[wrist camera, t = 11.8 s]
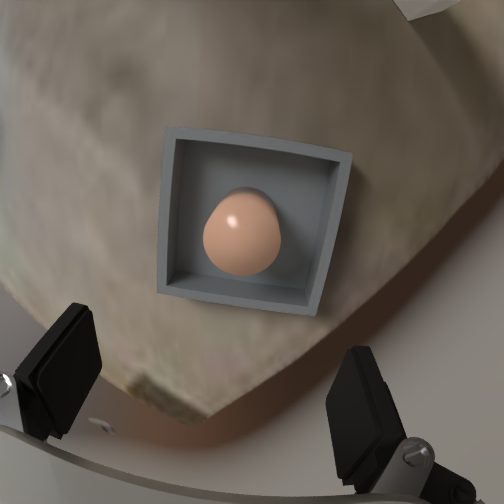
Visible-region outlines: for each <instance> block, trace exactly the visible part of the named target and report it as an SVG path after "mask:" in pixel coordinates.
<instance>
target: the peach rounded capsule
mask: <svg viewBox="0 0 504 504" xmlns="http://www.w3.org/2000/svg"><path fill="white" fill-rule="evenodd" d="M203 244H204V248H205V251H206V253H207V255H208V257H209V259H210V260H211V261H212V262H213V263H214V265H216V266H217V267H218V268H219V269H221V270H223V271H224V272H227V273H229V274H232V275H238V276H248V275H253V274H256V273H259V272H261V271H263V270H264V269H266V268H267V267H268V266H270V265H271V264H272V262H273V261H274V260H275V258H276V257H277V255H278V252H279V249H280V244H281V235H280V229H279V223H278V218H277V212H276V208H275V205H274V203H273V201H272V200H271V199H270V197H269V196H268V195H267V194H266V193H264V192H263V191H261V190H259V189H256V188H252V187H240V188H236V189H234V190H231V191H230V192H228V193H227V194H226V195H225V196H224V197H223V198H222V199H221V201H220V202H219V204H218V205H217V207H216V208H215V210H214V212H213V213H212V215H211V216H210V218H209V220H208V221H207V223H206V225H205V228H204V233H203Z"/></svg>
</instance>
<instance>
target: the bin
mask: <svg viewBox="0 0 504 504" xmlns="http://www.w3.org/2000/svg"><path fill="white" fill-rule="evenodd" d="M352 158H353V153H350V152H345V151H341V150H336V149H332V148H327V147H322V146H317V145H312V144H306V143H301V142H295V141H289V140H283V139H277V138H271V137H264V136H257V135H250V134H242V133H234V132H225V131H216V130H206V129H194V128H181V127H166V132H165V141H164V151H163V161H162V173H161V185H160V200H159V218H158V243H157V293H160V294H165V295H171V296H177V297H182V298H188V299H194V300H200V301H207V302H213V303H219V304H226V305H233V306H239V307H246V308H253V309H261V310H268V311H276V312H284V313H292V314H300V315H309V316H316V313H317V309H318V306H319V302H320V298H321V295H322V291H323V287H324V283H325V280H326V276H327V272H328V268H329V264H330V260H331V256H332V252H333V248H334V244H335V240H336V235H337V231H338V227H339V222H340V218H341V213H342V209H343V204H344V199H345V194H346V189H347V184H348V179H349V174H350V169H351V164H352ZM240 187H252V188H256V189H259V190H261V191H263V192H264V193H266V194H267V195H268V196H269V197H270V199H271V200H272V201H273V203H274V205H275V208H276V212H277V218H278V223H279V229H280V235H281V244H280V249H279V252H278V255H277V257H276V258H275V260H274V261H273V262H272V264H271V265H270V266H268V267H267V268H266V269H264V270H263V271H261V272H259V273H256V274H253V275H248V276H238V275H232V274H229V273H227V272H224V271H223V270H221V269H219V268H218V267H217V266H216V265H214V263H213V262H212V261H211V260H210V259H209V257H208V255H207V253H206V251H205V248H204V244H203V233H204V228H205V225H206V223H207V221H208V220H209V218H210V216H211V215H212V213H213V212H214V210H215V208H216V207H217V205H218V204H219V202H220V201H221V199H222V198H223V197H224V196H225V195H226V194H227V193H228V192H230V191H231V190H234V189H236V188H240Z"/></svg>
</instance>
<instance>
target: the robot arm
mask: <svg viewBox="0 0 504 504" xmlns="http://www.w3.org/2000/svg"><path fill="white" fill-rule="evenodd" d="M101 369H102V360H101V356H100V351H99V346H98V341H97V336H96V331H95V325H94V320H93V314H92V311H91V310H89V308H88V306H86V305H83V304H79V303H72V304H71V305H70V306H69V307H68V308H67V309H66V310H65V312H64V313H63V314H62V315H61V316H60V317H59V318H58V320H57V321H56V322H55V323H54V324H53V325H52V326H51V328H50V329H49V330H48V331H47V332H46V333H45V335H44V336H43V337H42V338H41V339H40V341H39V342H38V343H37V344H36V345H35V347H34V348H33V349H32V350H31V352H30V353H29V354H28V356H27V357H26V358H25V359H24V360H23V362H22V363H21V364H20V366H19V367H18V368H17V369H16V370H15V372H16V373H15V374H14V375H13V376H12V375H11V374H9V373H8V372H4V371H0V504H485V503H484V502H483V501H482V500H481V499H480V500H479V501H477V500H476V490H475V487H474V486H473V484H472V483H471V482H470V481H469V480H467V479H465V478H463V477H461V476H459V475H458V474H456V473H454V472H452V471H450V470H448V469H446V468H445V467H443V466H441V465H439V464H437V463H436V462H434V460H435V453H434V450H433V448H432V446H431V445H430V444H429V443H428V442H427V441H425V440H424V439H421V438H418V437H410V438H407V436H406V433H405V431H404V428H403V425H402V422H401V419H400V417H399V414H398V412H397V409H396V406H395V403H394V401H393V398H392V395H391V393H390V390H389V388H388V385H387V384H386V382H384V381H383V378H382V376H381V373H380V371H379V368H378V366H377V363H376V361H375V358H374V356H373V353H372V351H371V349H370V347H369V346H353V347H352V349H348V350H347V352H346V354H345V357H344V359H343V361H342V364H341V366H340V368H339V371H338V373H337V375H336V378H335V380H334V382H333V384H332V386H331V389H330V391H329V393H328V395H327V398H326V410H327V416H328V421H329V427H330V433H331V439H332V445H333V450H334V457H335V464H336V470H337V476H338V478H339V479H342V482H343V486H345V485H354V488H355V490H356V492H355V493H354V494H351V495H336V496H313V497H312V496H311V497H280V496H257V495H244V494H233V493H224V492H215V491H209V490H202V489H196V488H189V487H184V486H179V485H174V484H169V483H165V482H160V481H156V480H152V479H147V478H144V477H140V476H136V475H133V474H129V473H125V472H122V471H119V470H116V469H113V468H110V467H106V466H104V465H101V464H98V463H95V462H92V461H89V460H86V459H84V458H81V457H79V456H76V455H74V454H71V453H69V452H66V451H64V450H61V449H59V448H57V447H54V446H52V445H50V444H48V443H47V438H48V436H49V435H51V436H53V437H55V438H57V439H60V440H61V438H62V436H63V434H67V433H68V431H69V430H70V428H71V426H72V424H73V422H74V420H75V418H76V416H77V414H78V412H79V410H80V408H81V406H82V404H83V403H84V401H85V399H86V397H87V395H88V393H89V391H90V390H91V388H92V386H93V384H94V382H95V380H96V379H97V377H98V375H99V373H100V371H101Z"/></svg>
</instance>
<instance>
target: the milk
mask: <svg viewBox="0 0 504 504" xmlns="http://www.w3.org/2000/svg"><path fill="white" fill-rule="evenodd" d="M393 1H394V2H395V3H396V5H397V6H398V7H399V9H400V10H401V12H402V13H403V15H404V16H405V18H406V19H407V20H408V21H410V20H414V19H417V18H420V17H423V16H427V15H430V14H434V13H438V12H441V11H443V10H445V9H447V8H449V7H450V6H452V5H454V4H456V3H458V2H459V1H461V0H393Z"/></svg>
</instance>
